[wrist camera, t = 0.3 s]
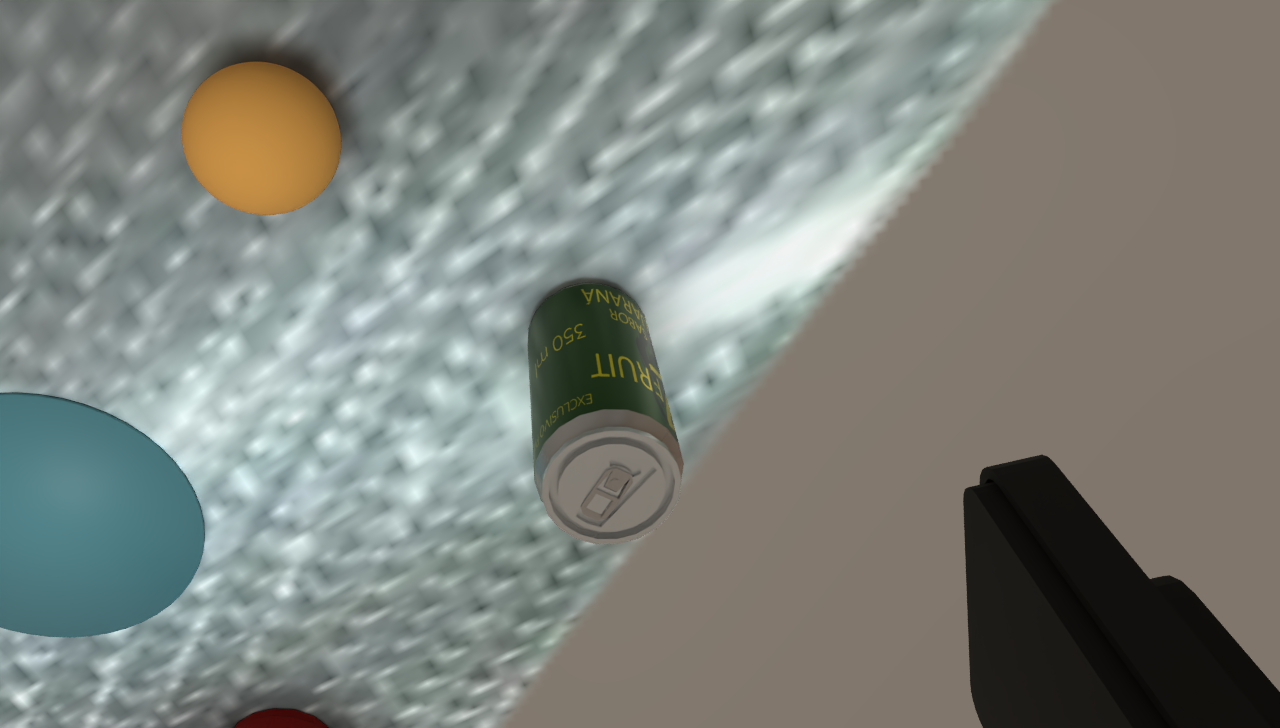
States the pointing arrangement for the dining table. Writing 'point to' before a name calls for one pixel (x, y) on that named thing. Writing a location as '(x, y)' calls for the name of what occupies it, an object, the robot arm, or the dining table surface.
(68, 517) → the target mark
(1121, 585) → the robot arm
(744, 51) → the dining table surface
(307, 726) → the plastic cup
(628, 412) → the green soda can
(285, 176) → the ball
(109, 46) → the dining table surface
